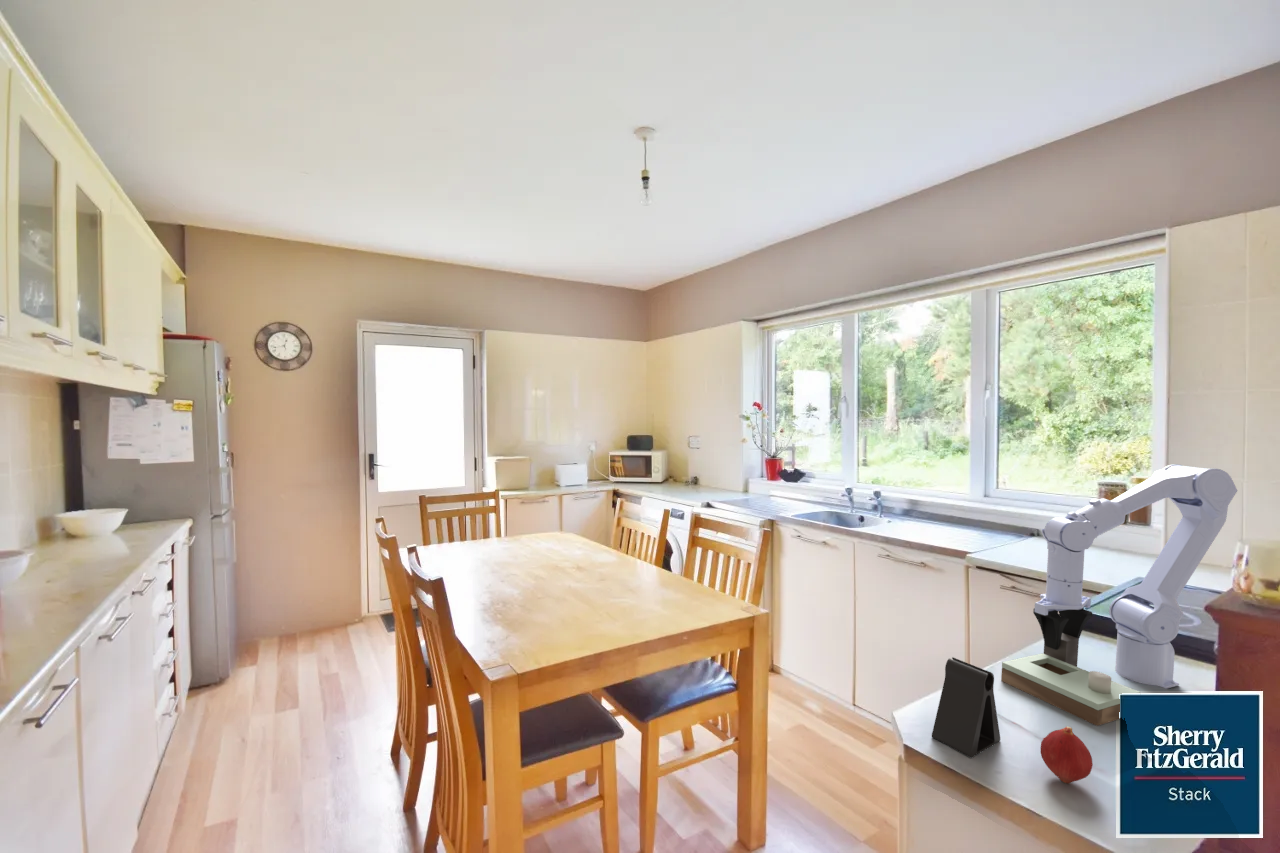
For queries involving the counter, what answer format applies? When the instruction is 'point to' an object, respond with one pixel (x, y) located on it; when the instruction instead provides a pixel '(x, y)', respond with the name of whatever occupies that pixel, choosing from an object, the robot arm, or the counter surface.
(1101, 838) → the counter surface
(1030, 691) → the brown box
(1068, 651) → the block
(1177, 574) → the robot arm
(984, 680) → the phone stand
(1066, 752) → the onion
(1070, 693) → the lid
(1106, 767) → the counter surface
